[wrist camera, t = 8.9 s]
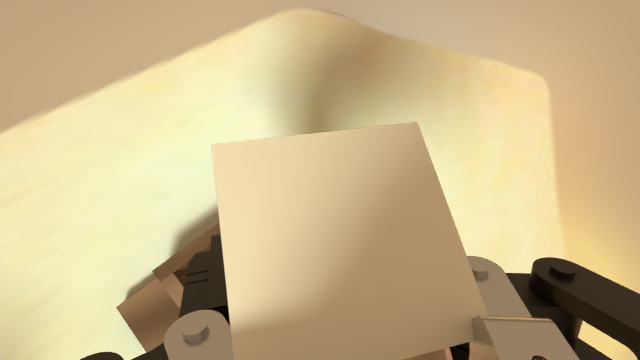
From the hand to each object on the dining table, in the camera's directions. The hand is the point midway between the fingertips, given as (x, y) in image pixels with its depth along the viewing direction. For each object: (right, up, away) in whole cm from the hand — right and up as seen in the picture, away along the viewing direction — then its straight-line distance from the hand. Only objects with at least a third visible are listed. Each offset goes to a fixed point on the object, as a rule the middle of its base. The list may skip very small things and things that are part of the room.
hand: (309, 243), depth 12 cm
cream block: (0, -3, +3) cm, 4 cm away
